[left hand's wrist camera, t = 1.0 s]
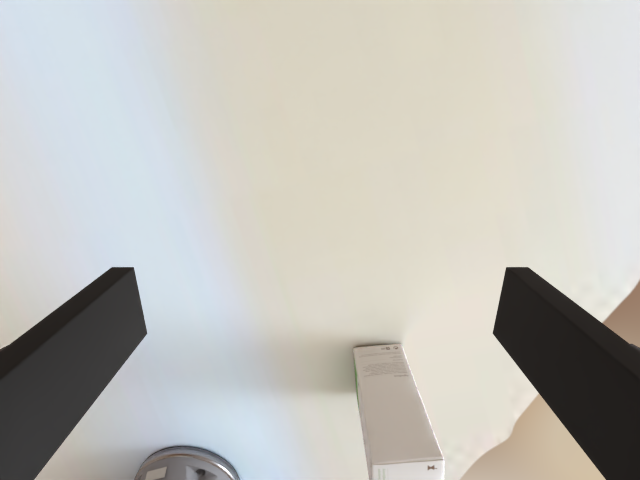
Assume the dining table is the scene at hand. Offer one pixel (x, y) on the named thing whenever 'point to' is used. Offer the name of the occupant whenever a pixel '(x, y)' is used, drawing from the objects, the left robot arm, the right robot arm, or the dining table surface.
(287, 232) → the dining table surface
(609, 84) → the dining table surface
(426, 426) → the cosmetic box
